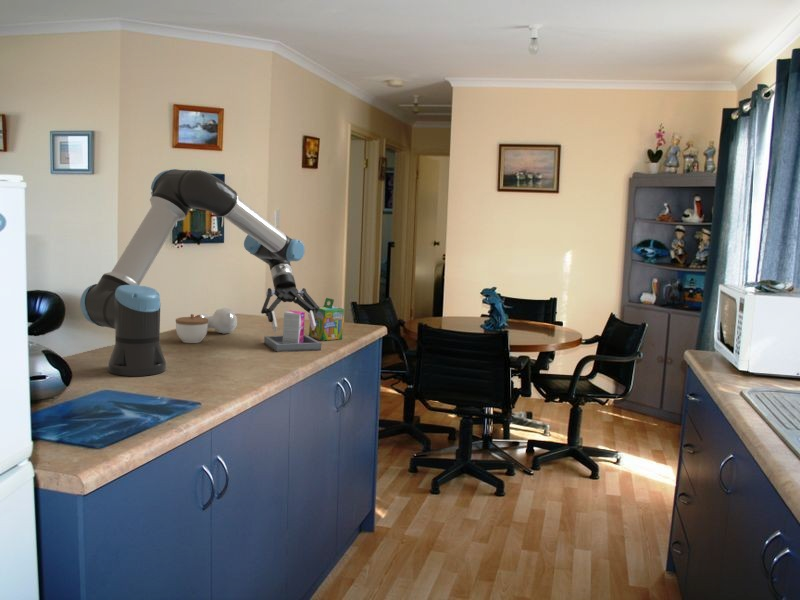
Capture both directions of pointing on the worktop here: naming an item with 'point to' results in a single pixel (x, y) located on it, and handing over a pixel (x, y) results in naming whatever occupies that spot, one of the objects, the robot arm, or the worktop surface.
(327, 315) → the chalk box
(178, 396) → the worktop surface
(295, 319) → the supplement box
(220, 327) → the potion bottle
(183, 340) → the lidded jar
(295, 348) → the tray
